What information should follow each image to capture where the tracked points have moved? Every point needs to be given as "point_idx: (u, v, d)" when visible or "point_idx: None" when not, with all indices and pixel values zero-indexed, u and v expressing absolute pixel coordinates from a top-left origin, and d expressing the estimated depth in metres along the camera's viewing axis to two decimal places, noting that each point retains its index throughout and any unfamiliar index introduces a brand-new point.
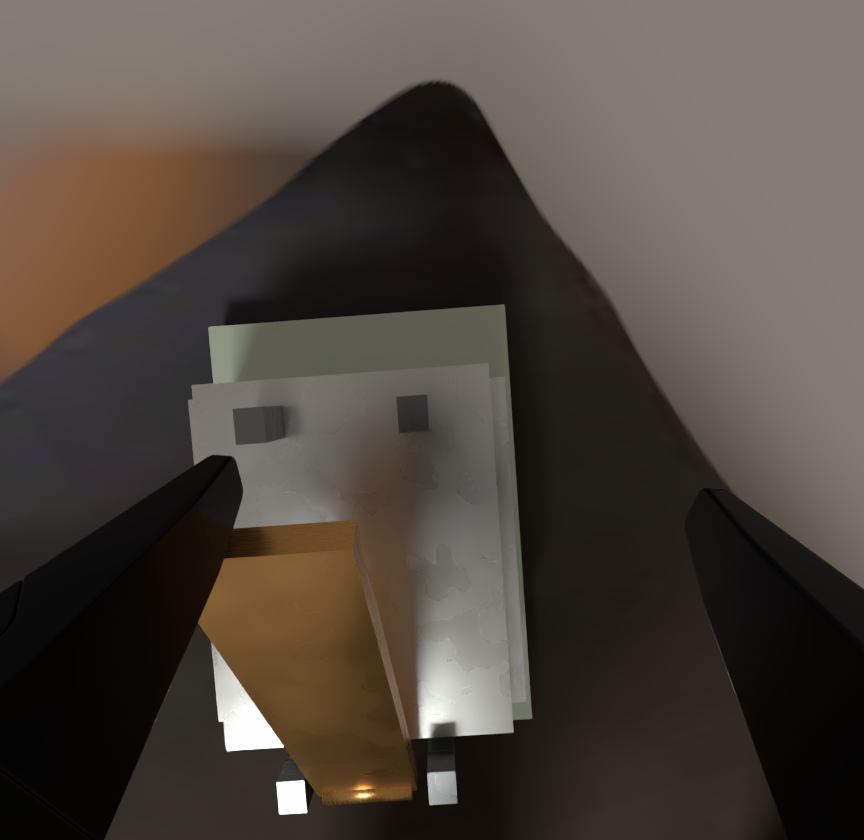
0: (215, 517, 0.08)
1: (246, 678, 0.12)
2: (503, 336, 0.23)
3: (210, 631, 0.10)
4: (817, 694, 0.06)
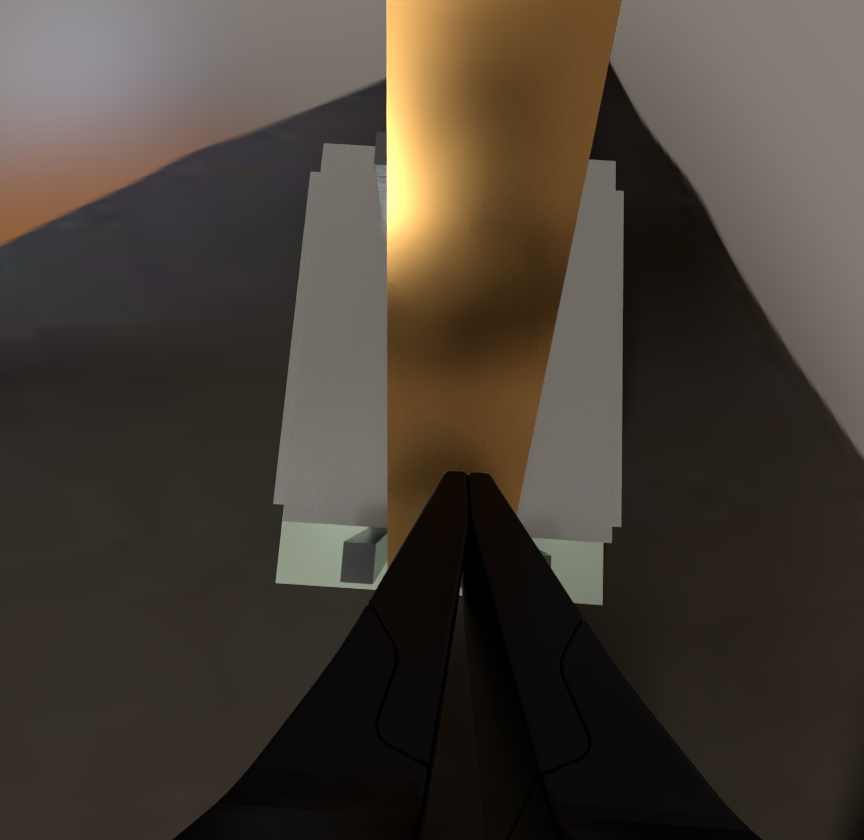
0: None
1: (397, 269, 0.10)
2: None
3: (394, 142, 0.09)
4: (488, 671, 0.06)
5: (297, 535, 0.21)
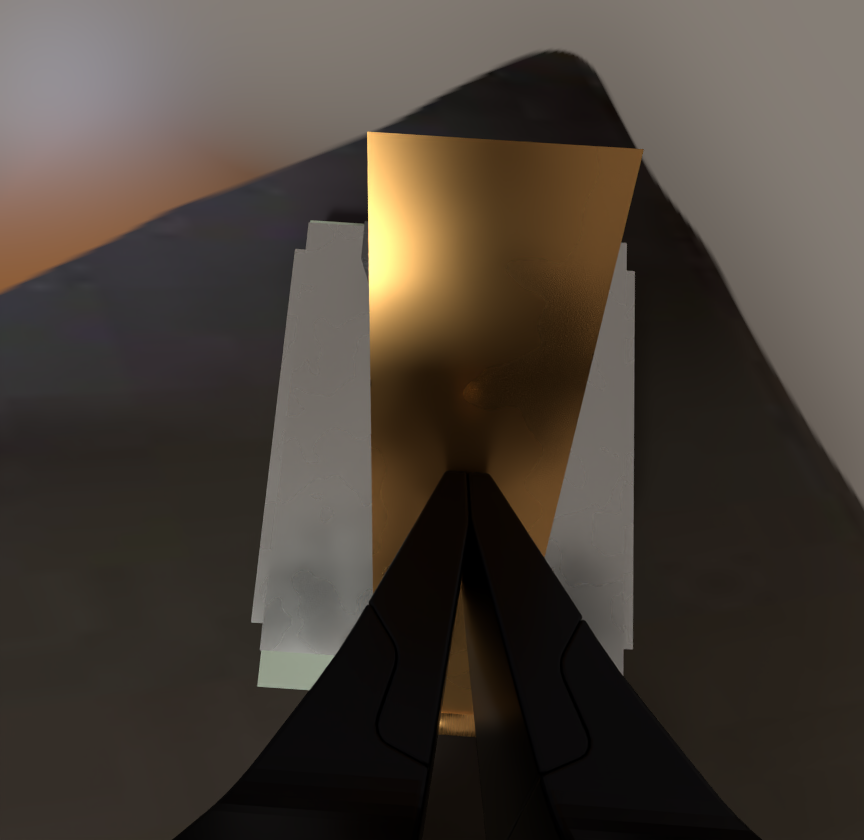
0: None
1: (382, 434, 0.09)
2: None
3: (377, 314, 0.07)
4: (488, 671, 0.06)
5: None
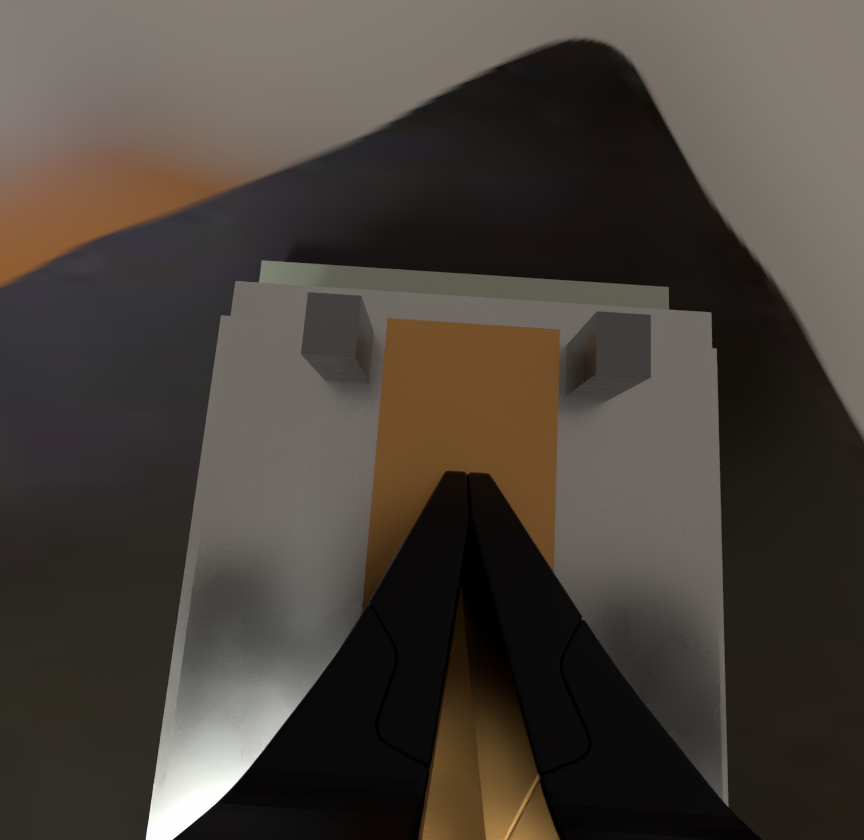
0: None
1: (378, 548, 0.09)
2: None
3: (383, 433, 0.10)
4: (488, 670, 0.06)
5: None
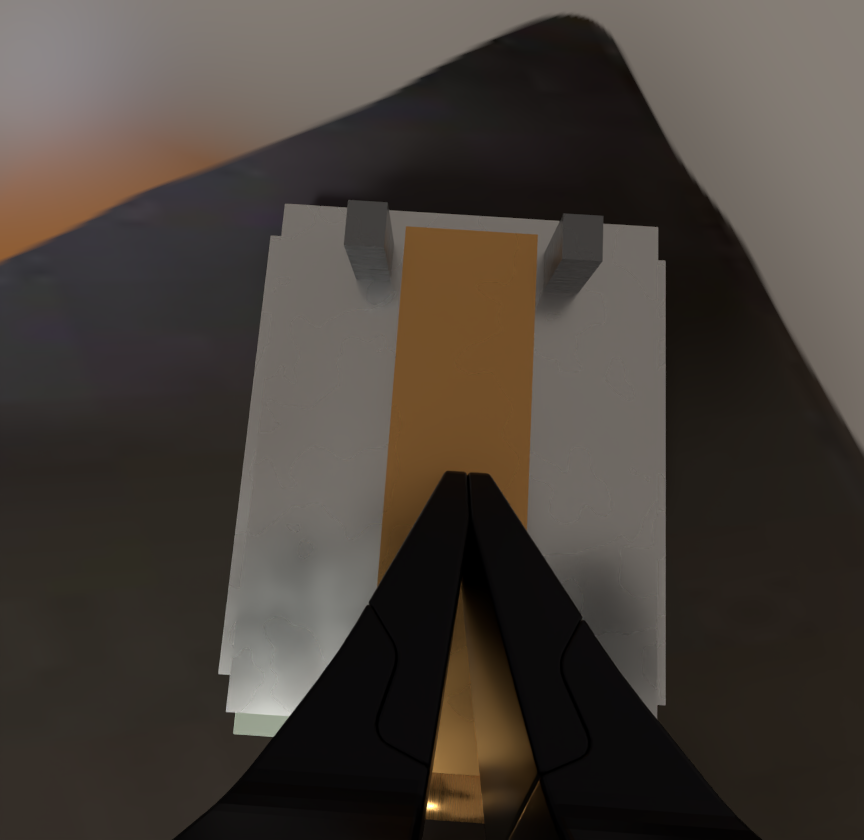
0: None
1: (401, 394, 0.12)
2: None
3: (403, 312, 0.13)
4: (488, 671, 0.06)
5: None
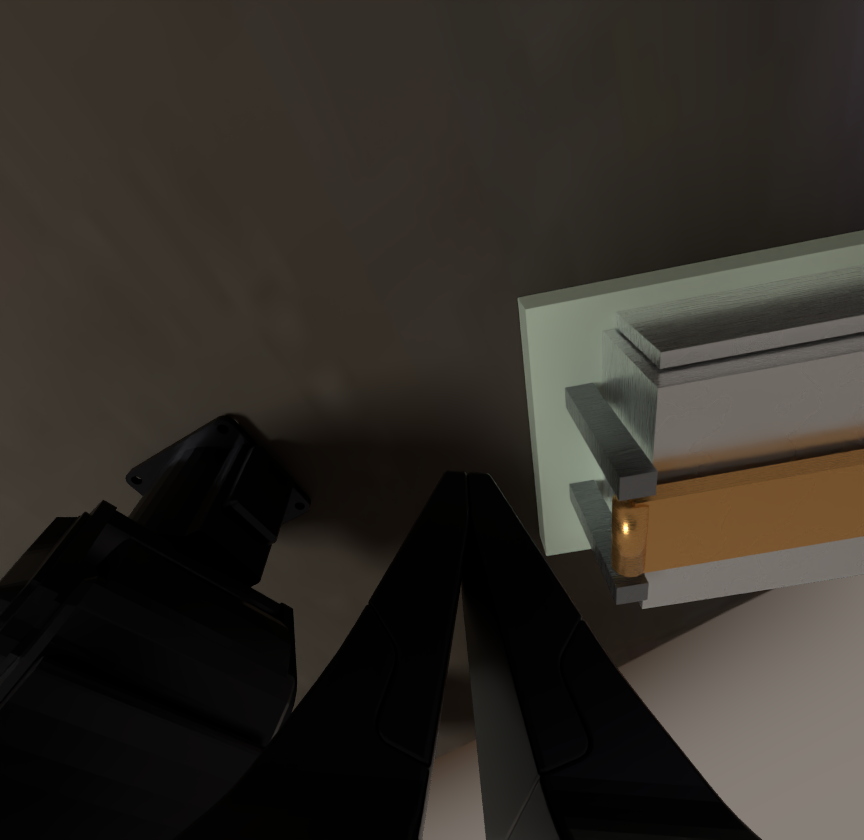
0: None
1: None
2: None
3: None
4: (488, 671, 0.06)
5: (578, 316, 0.19)
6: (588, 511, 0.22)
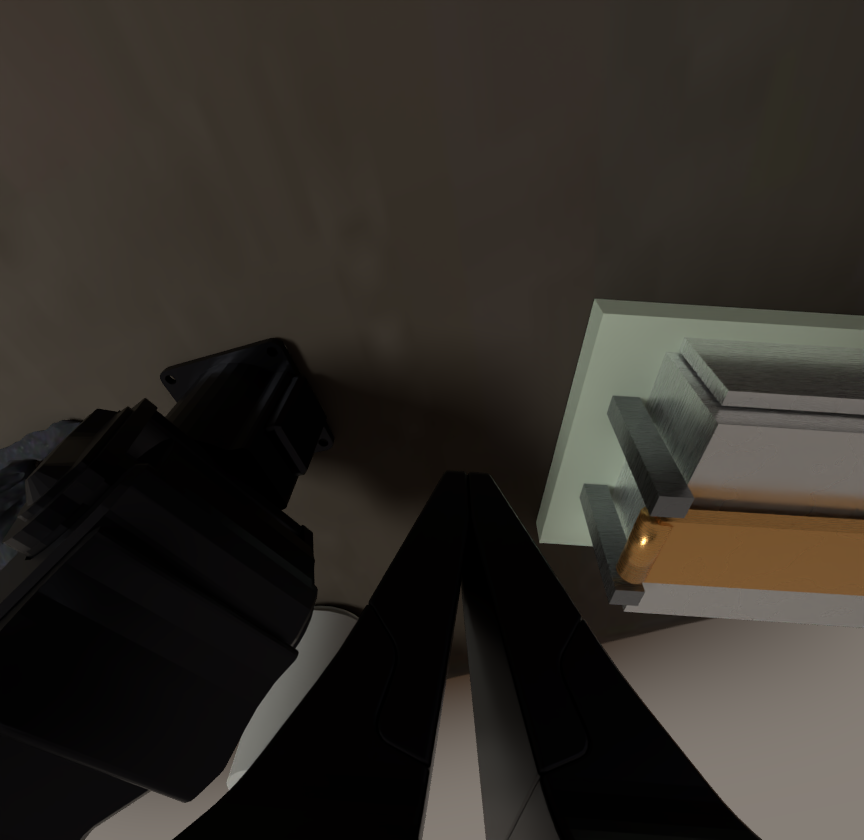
0: None
1: None
2: None
3: None
4: (488, 671, 0.06)
5: (648, 333, 0.19)
6: (598, 513, 0.23)
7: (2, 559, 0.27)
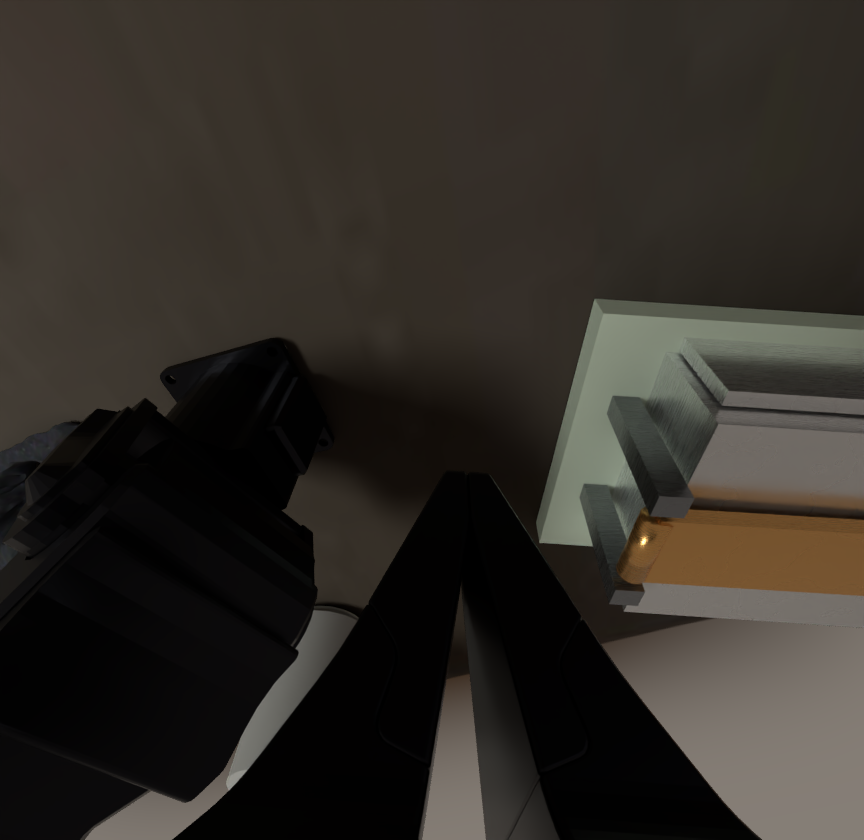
0: None
1: None
2: None
3: None
4: (488, 671, 0.06)
5: (648, 333, 0.19)
6: (598, 513, 0.23)
7: (3, 560, 0.27)
